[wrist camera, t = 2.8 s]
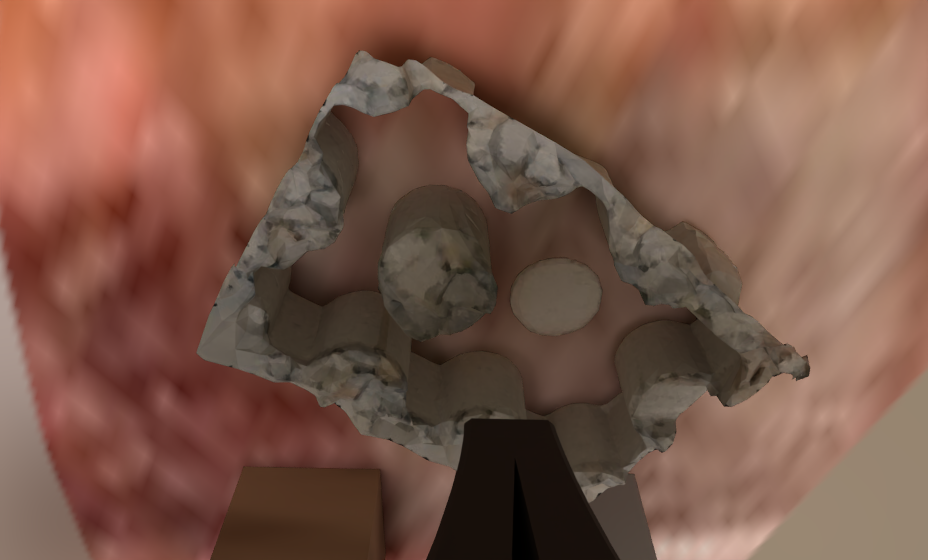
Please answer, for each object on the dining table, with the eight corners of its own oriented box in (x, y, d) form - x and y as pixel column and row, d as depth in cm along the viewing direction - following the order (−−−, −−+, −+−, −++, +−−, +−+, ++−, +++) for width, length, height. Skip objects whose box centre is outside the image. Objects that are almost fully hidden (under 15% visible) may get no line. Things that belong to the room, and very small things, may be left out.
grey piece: (764, 265, 16) (847, 378, 13) (560, 443, 19) (582, 571, 16) (395, -18, 13) (372, 32, 9) (221, 257, 16) (156, 369, 12)
